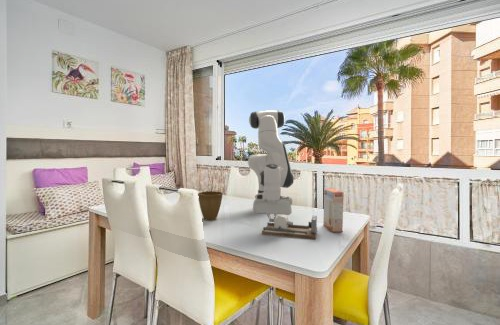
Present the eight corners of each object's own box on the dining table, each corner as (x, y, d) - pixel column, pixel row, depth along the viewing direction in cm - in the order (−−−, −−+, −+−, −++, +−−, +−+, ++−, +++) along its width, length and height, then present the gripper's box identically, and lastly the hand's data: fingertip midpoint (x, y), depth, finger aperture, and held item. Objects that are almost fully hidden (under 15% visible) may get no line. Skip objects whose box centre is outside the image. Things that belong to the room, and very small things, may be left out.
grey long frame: (267, 224, 149) (267, 211, 149) (316, 228, 142) (316, 215, 141) (263, 229, 139) (263, 216, 139) (315, 234, 132) (315, 220, 132)
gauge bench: (268, 226, 151) (268, 222, 151) (316, 230, 144) (316, 227, 144) (262, 234, 137) (262, 230, 137) (315, 239, 130) (315, 235, 130)
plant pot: (216, 223, 157) (216, 195, 156) (193, 220, 162) (193, 194, 161) (226, 217, 171) (226, 191, 170) (205, 215, 176) (205, 190, 175)
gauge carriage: (276, 224, 146) (277, 214, 146) (293, 226, 143) (294, 215, 143) (273, 230, 136) (273, 219, 136) (291, 232, 134) (291, 220, 133)
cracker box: (343, 232, 141) (344, 192, 140) (331, 232, 140) (332, 192, 139) (333, 224, 155) (334, 188, 153) (323, 224, 154) (323, 188, 153)
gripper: (293, 195, 142) (292, 221, 143) (255, 193, 148) (255, 218, 149) (291, 197, 136) (291, 225, 137) (252, 195, 142) (251, 221, 143)
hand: (272, 221), depth 143 cm, fingers closed
